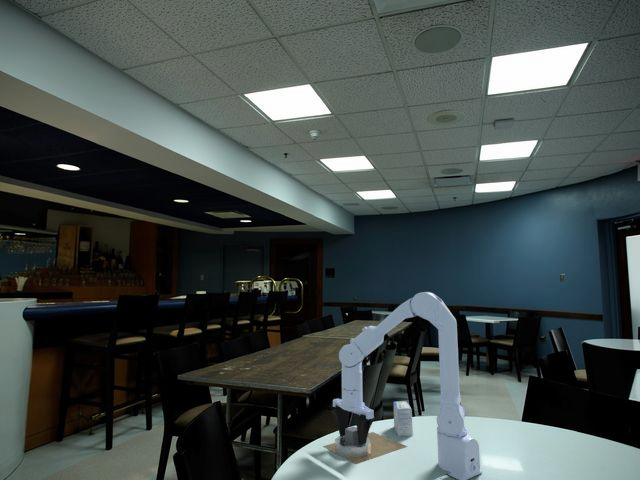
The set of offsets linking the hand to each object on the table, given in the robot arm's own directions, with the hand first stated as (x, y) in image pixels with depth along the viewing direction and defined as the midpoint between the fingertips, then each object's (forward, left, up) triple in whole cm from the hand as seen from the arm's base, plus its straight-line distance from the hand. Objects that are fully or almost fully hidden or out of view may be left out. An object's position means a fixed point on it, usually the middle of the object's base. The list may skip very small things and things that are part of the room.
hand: (352, 439), depth 109 cm
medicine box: (+2, -22, -4) cm, 22 cm away
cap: (0, 0, -3) cm, 3 cm away
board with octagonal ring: (0, -5, -3) cm, 6 cm away
